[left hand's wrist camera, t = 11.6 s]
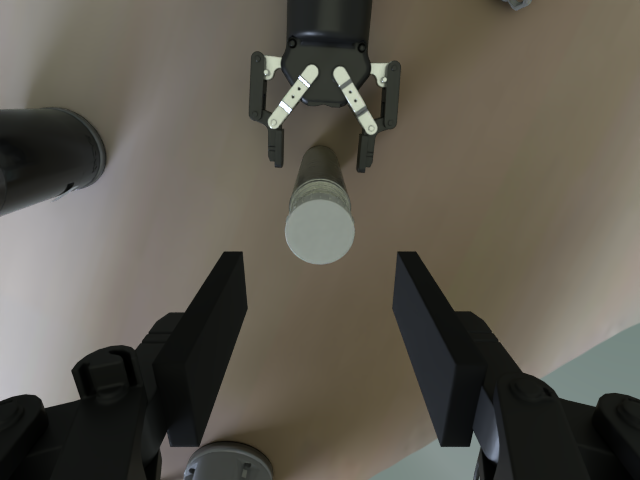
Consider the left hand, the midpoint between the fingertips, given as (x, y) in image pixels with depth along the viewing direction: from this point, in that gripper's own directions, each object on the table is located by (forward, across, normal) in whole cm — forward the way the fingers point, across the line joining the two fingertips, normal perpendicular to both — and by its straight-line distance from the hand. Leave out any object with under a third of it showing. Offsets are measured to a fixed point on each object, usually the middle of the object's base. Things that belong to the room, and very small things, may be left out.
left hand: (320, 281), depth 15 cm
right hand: (+24, 0, 0) cm, 24 cm away
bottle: (+30, 0, 0) cm, 30 cm away
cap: (+6, 0, 0) cm, 6 cm away
